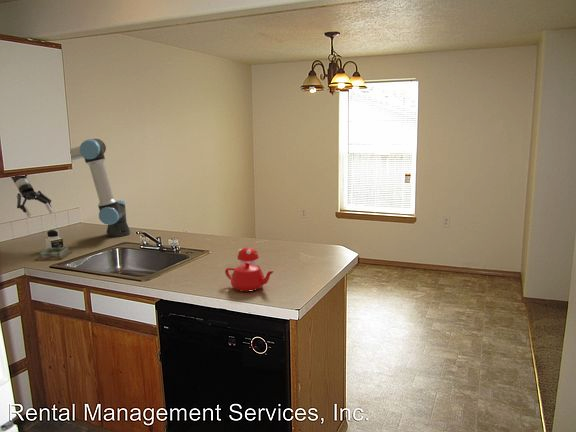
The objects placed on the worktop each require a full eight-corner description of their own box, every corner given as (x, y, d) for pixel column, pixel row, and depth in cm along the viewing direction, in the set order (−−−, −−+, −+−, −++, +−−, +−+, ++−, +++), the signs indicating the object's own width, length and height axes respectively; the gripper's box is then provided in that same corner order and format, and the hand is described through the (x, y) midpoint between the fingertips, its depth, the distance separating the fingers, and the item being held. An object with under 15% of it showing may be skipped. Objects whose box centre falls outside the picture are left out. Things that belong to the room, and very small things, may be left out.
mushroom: (239, 266, 245) (238, 244, 243) (260, 266, 245) (259, 244, 242) (236, 273, 235) (235, 250, 232) (258, 273, 234) (257, 250, 232)
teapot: (217, 290, 212) (215, 264, 210) (234, 279, 226) (233, 255, 224) (267, 298, 202) (266, 270, 200) (282, 286, 216) (281, 260, 214)
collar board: (72, 252, 276) (71, 246, 276) (61, 259, 263) (60, 253, 262) (48, 253, 276) (47, 247, 275) (36, 260, 262) (35, 254, 262)
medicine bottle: (52, 252, 278) (49, 232, 276) (46, 250, 282) (43, 230, 280) (64, 249, 284) (61, 230, 281) (58, 247, 288) (55, 228, 285)
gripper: (42, 188, 302) (58, 214, 297) (1, 193, 281) (17, 221, 276) (46, 181, 298) (62, 206, 293) (5, 185, 278) (21, 213, 272)
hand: (40, 214), depth 285 cm, fingers open, 13 cm apart
